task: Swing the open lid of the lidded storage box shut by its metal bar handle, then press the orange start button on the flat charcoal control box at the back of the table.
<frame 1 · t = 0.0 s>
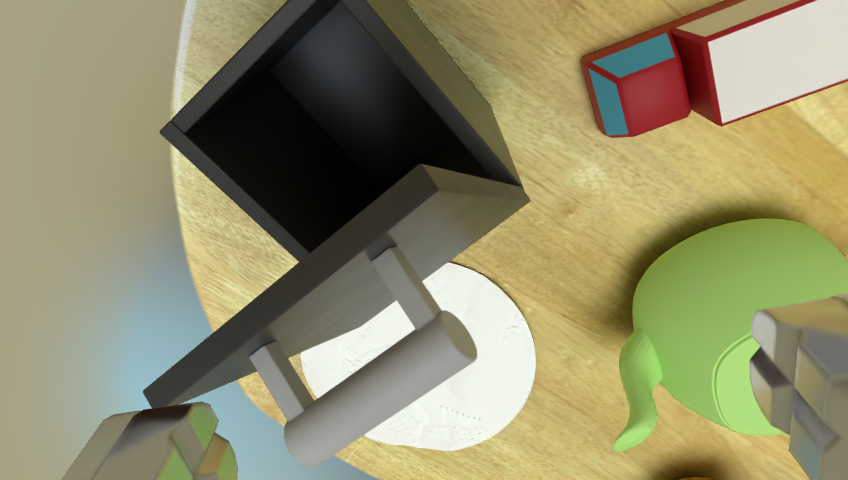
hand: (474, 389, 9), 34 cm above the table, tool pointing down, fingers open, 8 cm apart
plaque: (417, 357, 51), on the table
storage box lid: (407, 318, 21), point 23 cm above the table, hinge at 60.0°
lidded storage box: (374, 87, 40), on the table
teapot: (701, 292, 47), on the table
toy truck: (696, 53, 39), on the table
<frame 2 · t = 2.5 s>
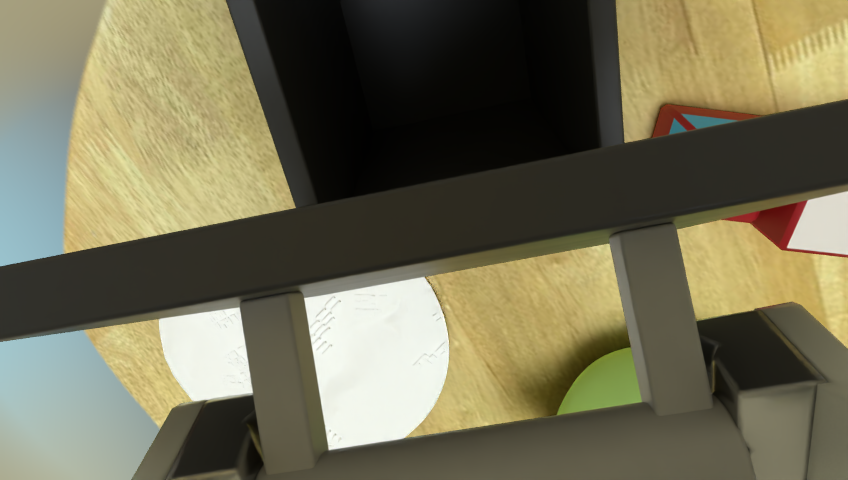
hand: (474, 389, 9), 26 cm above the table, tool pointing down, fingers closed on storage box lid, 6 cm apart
plaque: (306, 341, 41), on the table
storage box lid: (477, 335, 12), point 23 cm above the table, hinge at 60.0°, touching gripper
lidded storage box: (430, 10, 31), on the table
teapot: (631, 400, 43), on the table
toy truck: (768, 162, 35), on the table
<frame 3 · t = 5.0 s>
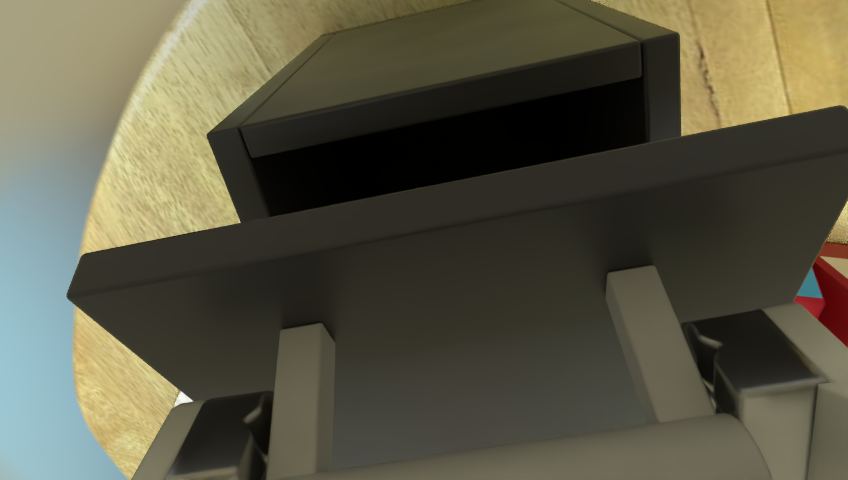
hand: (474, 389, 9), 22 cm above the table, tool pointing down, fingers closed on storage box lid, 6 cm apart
lidded storage box: (456, 139, 30), on the table
toy truck: (804, 281, 33), on the table
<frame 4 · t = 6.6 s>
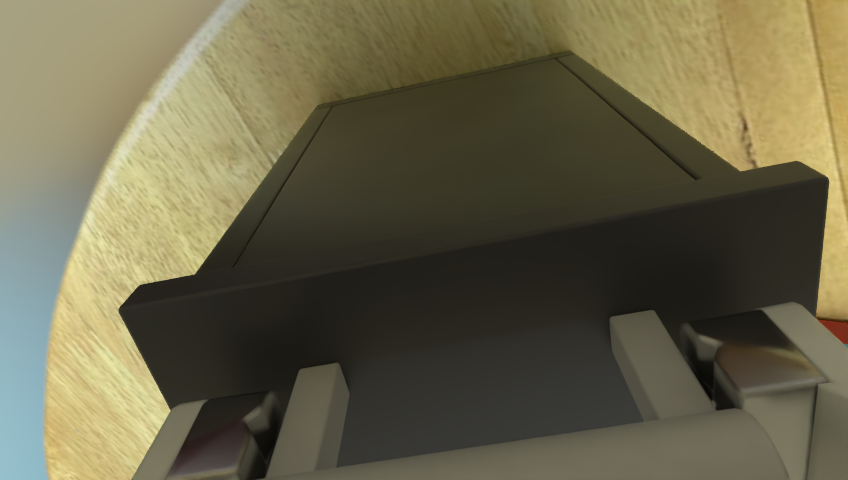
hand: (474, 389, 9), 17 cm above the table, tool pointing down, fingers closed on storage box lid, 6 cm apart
lidded storage box: (468, 216, 26), on the table
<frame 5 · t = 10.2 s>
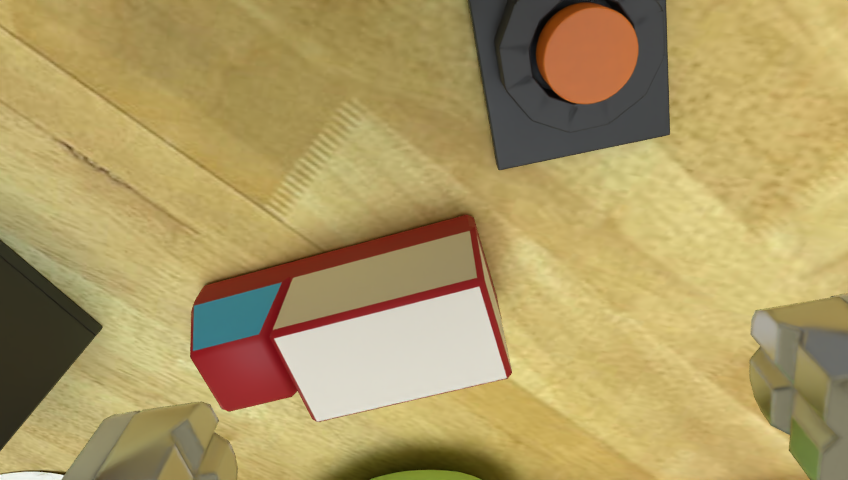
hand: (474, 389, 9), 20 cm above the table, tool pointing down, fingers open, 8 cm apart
start button: (585, 53, 23), point 3 cm above the table, slide at 0.1 cm
control box: (568, 41, 25), on the table
toy truck: (350, 289, 32), on the table
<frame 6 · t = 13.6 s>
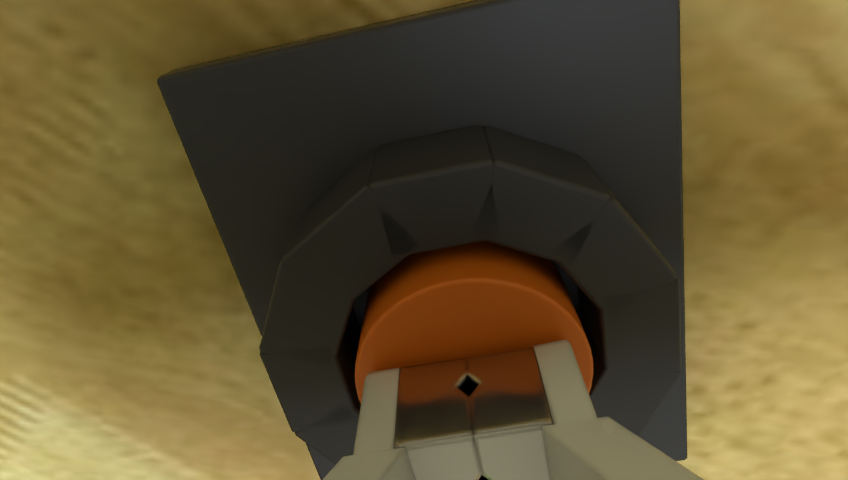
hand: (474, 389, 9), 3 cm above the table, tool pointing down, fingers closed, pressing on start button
start button: (470, 347, 10), point 2 cm above the table, slide at -0.8 cm, touching gripper
control box: (463, 282, 11), on the table
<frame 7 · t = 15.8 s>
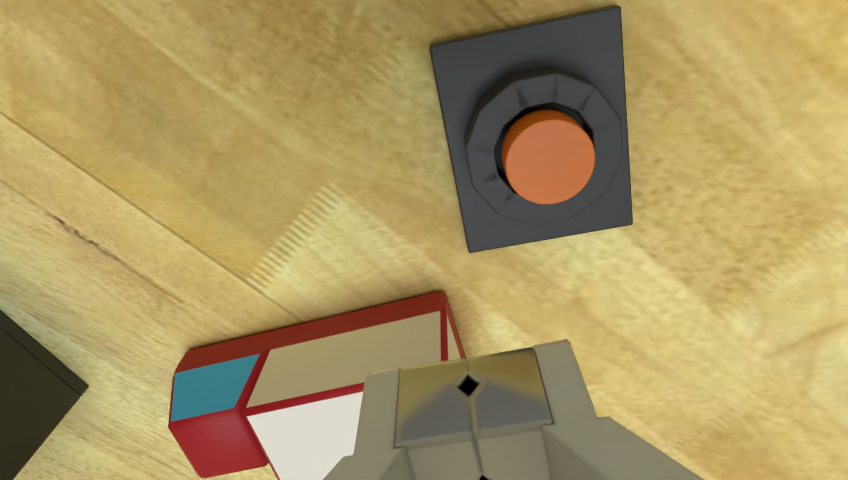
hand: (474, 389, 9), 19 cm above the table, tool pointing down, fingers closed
start button: (546, 156, 24), point 3 cm above the table, slide at 0.1 cm
control box: (535, 137, 27), on the table
toy truck: (328, 357, 33), on the table
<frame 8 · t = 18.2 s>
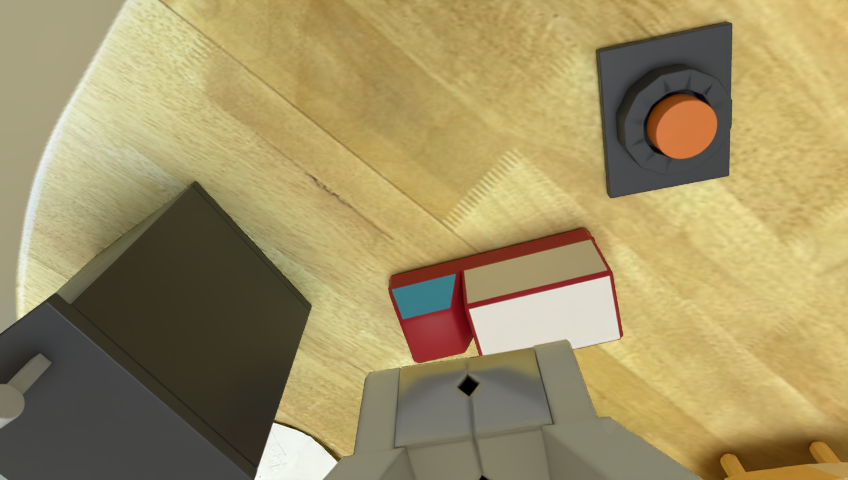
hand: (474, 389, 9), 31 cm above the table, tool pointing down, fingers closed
start button: (681, 126, 35), point 3 cm above the table, slide at 0.1 cm
storage box lid: (68, 469, 28), point 18 cm above the table, hinge at -0.2°, touching lidded storage box
control box: (663, 114, 38), on the table
dog: (790, 459, 52), on the table
lidded storage box: (205, 281, 44), on the table
toy truck: (493, 280, 44), on the table
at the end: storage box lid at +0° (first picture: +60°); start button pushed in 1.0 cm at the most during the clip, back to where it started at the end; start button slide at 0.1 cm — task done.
